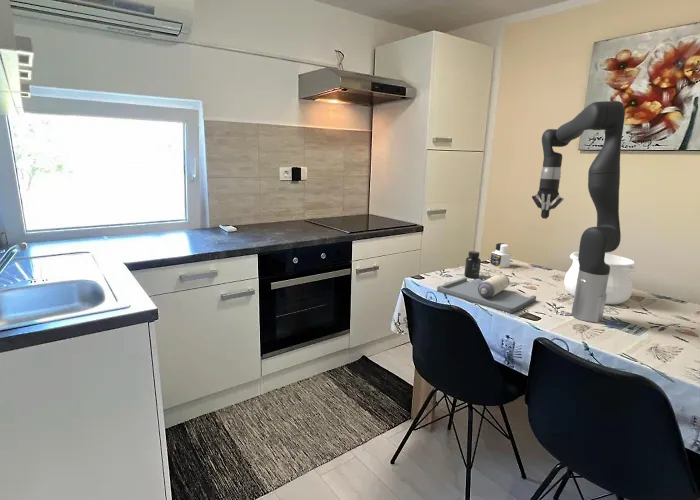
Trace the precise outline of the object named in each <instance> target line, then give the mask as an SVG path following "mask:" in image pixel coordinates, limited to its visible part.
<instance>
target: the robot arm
mask: <svg viewBox="0 0 700 500" xmlns="http://www.w3.org/2000/svg"><path fill="white" fill-rule="evenodd" d="M625 112H626V111H625V106H624V104H623V103H622V102H621V101H619V100H618V101H617V100H611V101H610V100H609V101H607V100H605V101H604V100H603V101H595V102H594V101H593V102H592V103H589V104H588V105H587V106H585V108H583V109H582V110H581V112H579V113H578V114H577V115H576V116H575V117H573V118H572V119H571V120H569V121H567V122H565V123H563V124H562V125H560V126H559V127H558V128H557V129H555V128H547V129H545V130H544V131H543V133H542V135H541V145H542V149H543V150H542V151H543V161H542V169H541V172H540V179H539V186H538V187H539V188H538V191H537V193H536V194H535V195H532V197H531V199H532V200H533V201H534V203H535V205H536V207H537V208H538V209H541V213H540V217H541V218H542V219H545V220H546V219H548V218H549V216H550V211H552V210H555V209H556V208H557V207H558V206H559V205H560V204H561V203H562V202H563V201H564V200H565V199H564V197H561V196H560V193H559V190H560V189H559V188H560V182H561V174H562V172H561V171H562V163H563V154H562V153H561V152H557V151H554V147H556V148H563V147H566V146H568V145H569V143H570V142H571V141H573V140H576V139H578V138H579V137H581V136H582V135H583V133H584V132H585V131H587V130H592V131H605V134H604V141H603V145H602V147H601V149H600V150H599V152H598V154H597V155H596V156H595V158H594V159H593V161H592V162H591V165H590V166H589V168H588V174H587V175H588V176H587V177H588V178H587V189H588V190H587V191H588V193H589V196H590V198H591V200H592V204H594V207H595V210H596V217H597V218H596V226H592V227H591V226H590V227H587V229H585V230H584V231H583V233H582V235H581V237H580V241H579V249H578V252H579V256H578V261H579V265H580V266H579V272H578V278H577V284H576V290H575V295H574V296H573V301H572V308H571V314H570V315H571V316H572V317H573V318H576V319H578V320H581V321H585V322H590V323H591V322H594V323H596V324H597V323H599V322H600V321H601V320H603V318H604V317H603V316H604V313H605V312H604V311H605V306H606V304H605V302H606V296H607V294H606V288H607V282H608V277H609V272H610V266H609V265H608V264H606V263H605V262H604V259H605V253H606V254H608V253H612V252H614V251H616V250H617V249H618V247H619V246H620V243H621V237H622V235H621V233H622V232H621V223H620V211H619V210H620V209H619V208H620V182H621V180H620V179H621V151H622V150H621V149H622V148H621V147H622V139H623V133H624V132H623V131H624V127H625V126H624V125H625V115H626V113H625ZM553 202H554V203H553Z"/></svg>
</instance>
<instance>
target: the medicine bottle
mask: <svg viewBox="0 0 700 500" xmlns="http://www.w3.org/2000/svg"><path fill="white" fill-rule="evenodd" d="M508 251H509V245H508V244H507V243H501V242H499V243H496V245H495V251H491V256H490V262H489V265H490V266H493V267H495V268H499V269H502V268H503V269H505V268H510V267H511V266H510V265H511V258H512V254H511V253H509V252H508Z"/></svg>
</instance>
